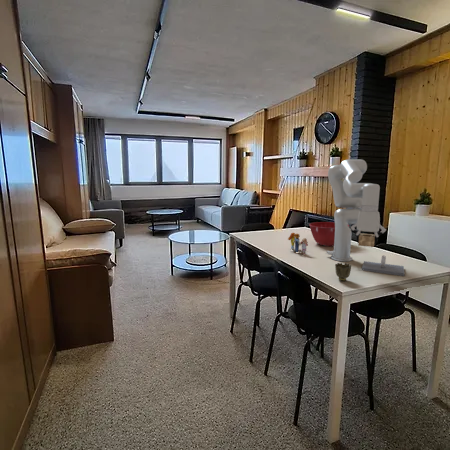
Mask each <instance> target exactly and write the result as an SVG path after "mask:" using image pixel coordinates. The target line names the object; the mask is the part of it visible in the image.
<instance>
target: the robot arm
mask: <svg viewBox="0 0 450 450" xmlns="http://www.w3.org/2000/svg"><path fill="white" fill-rule="evenodd" d="M367 169H368V164H367V161H365V160H364V159H363V158H361V159H356V158H354V159H353V158H352V159H349V158H348V159H345V160H342V161H341V163H340V164H334V165H331V166H330V167H328V170H327V178H328V181H329V185H330V187H331V190H332V195H333V200H334V201H333V202H334V206H335V207H336V208H338V209H336V210H335V211H334V215H333V217H334V223H335V240H334V246H333V250H331V251H330V250H326V255H330V259H331V260H334V261H338V262H343V263H344V262H351V261H353V256H351V245H352V244H351V243H352V232H353V233H354V234H355V235H356V242H357V244H359V235H360V233H361V232H367V233H374V235H375V241H374V246H376V244H378V240H379V237H380V236H382V235H383V234H384V233H385V232H386V231H387V229H386V228H385V227H384V226H383V225H381V222H380V221H381V217H380V216H381V215H380V212H379V201H380V191H381V190H380V189H381V187H380V185H379V184H377V183H371V182H360V181H361V180H362V178H363V175H364V174H365V173H366V171H367ZM342 179H343V180H342ZM348 225H349V226H348ZM350 225H352V226H350ZM380 230H381V231H380Z"/></svg>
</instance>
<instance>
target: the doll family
mask: <svg viewBox="0 0 450 450" xmlns="http://www.w3.org/2000/svg"><path fill="white" fill-rule="evenodd" d="M287 240H288V241H290V245H291V246H290V250H291V249H292V250H295V251H296V252H298V251H299V250H300V248H299V247H300V246H301V253H303V254H306V255H307V253H306V252H307V247H308V246H309V243H308V242H309V241H308V238H307V237H304V238H302V239H301V240H302V241H301V242H300V233H295V232H291V233H290V235H289V237H287ZM298 249H299V250H298ZM295 251H294V252H295Z"/></svg>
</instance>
